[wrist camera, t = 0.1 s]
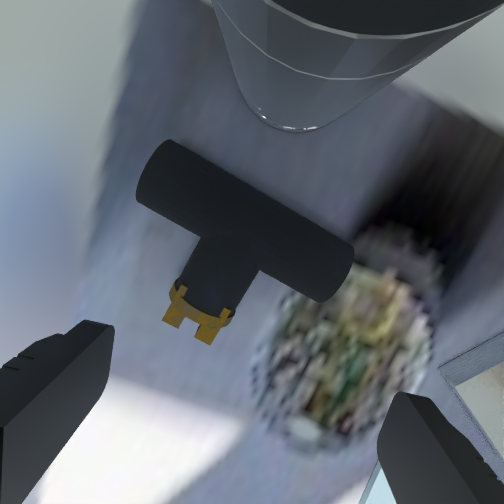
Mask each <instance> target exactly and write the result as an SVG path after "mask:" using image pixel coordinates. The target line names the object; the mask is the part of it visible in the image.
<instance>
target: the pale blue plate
mask: <svg viewBox="0 0 504 504" xmlns="http://www.w3.org/2000/svg"><path fill="white" fill-rule="evenodd" d="M497 479H498V480H500V479H499V478H498V477H497ZM501 482H502V481H501ZM359 504H396V501H395V499H394V496H393V494H392V491H391V489H390V487H389V484H388V482H387V479H386V477H385V475H384V472H383V470H382V467H381V465H380V462H379V460H378V462H377V464H376V467H375V469H374V471H373V473H372V476H371V478H370V480H369V482H368V485H367V487H366V489H365V491H364V493H363V496H362V498H361V500H360V502H359Z"/></svg>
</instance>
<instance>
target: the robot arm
mask: <svg viewBox="0 0 504 504" xmlns="http://www.w3.org/2000/svg"><path fill="white" fill-rule="evenodd" d="M211 1H212V4H213V7H214V11H215V14H216V17H217V20H218V23H219V26H220V29H221V32H222V36H223V39H224V42H225V45H226V48H227V51H228V54H229V58H230V61H231V64H232V67H233V70H234V74H235V77H236V80H237V83H238V86H239V88H240V91H241V93H242V96H243V98H244V99H245V101H246V103H247V104H248V106H249V107H250V109H251V110H252V111H253V112H254V113H255V114H256V115H257V116H258V117H259V118H260V119H261V120H263V121H264V122H266V123H267V124H269V125H270V126H272V127H275V128H278V129H281V130H283V131H290V132H305V131H312V130H315V129H318V128H321V127H324V126H325V125H327V124H329V123H330V122H332V121H334V120H336V119H337V118H339V117H340V116H341V115H343V114H345V113H346V112H348V111H349V110H351V109H352V108H354V107H355V106H357V105H358V104H360V103H361V102H363V101H364V100H365V99H367V98H368V97H370V96H371V95H373V94H374V93H376V92H377V91H379V90H380V89H382V88H383V87H385V86H386V85H387V84H389V83H390V82H392V81H393V80H395V79H396V78H398V77H399V76H401V75H402V74H404V73H405V72H406V71H408V70H409V69H411V68H412V67H414V66H415V65H417V64H418V63H420V62H421V61H423V60H424V59H426V58H427V57H428V56H430V55H431V54H433V53H434V52H436V51H437V50H438V49H440V48H441V47H443V46H444V45H445V44H447V43H448V42H450V41H451V40H453V39H454V38H456V37H457V36H458V35H460V34H461V33H463V32H464V31H466V30H467V29H469V28H470V27H472V26H473V25H475V24H476V23H478V22H479V21H481V20H482V19H484V18H485V17H486V16H488V15H490V14H491V13H492V12H494V11H495V10H497V9H498V8H500V7H501V6H503V5H504V0H211ZM114 334H115V330H114V327H113V326H112V325H108V324H103V323H99V322H94V321H90V320H83V321H81V322H80V323H79V324H77V325H76V326H75V327H74V328H72V329H71V330H70V331H69V332H67V333H66V334H65V335H63V334H58V333H57V334H54V335H52V336H49V337H47V338H44V339H42V340H39V341H36V342H34V343H33V344H32V345H30V346H29V347H28V348H26V349H25V350H24V351H22V352H21V353H19V354H18V356H17V357H14V358H12V359H11V360H10V361H8V362H7V363H5V364H4V365H3V366H2V368H1V369H0V504H22V502H23V501H24V500H25V498H26V497H27V496H28V494H29V493H30V492H31V490H32V489H33V487H34V486H35V485H36V483H37V482H38V481H39V479H40V478H41V477H42V475H43V474H44V473H45V471H46V470H47V469H48V467H49V466H50V465H51V463H52V462H53V461H54V459H55V458H56V456H57V455H58V454H59V452H60V451H61V450H62V448H63V447H64V446H65V444H66V443H67V442H68V440H69V439H70V438H71V436H72V435H73V433H74V432H75V431H76V429H77V428H78V427H79V425H80V424H81V423H82V421H83V420H84V419H85V417H86V416H87V415H88V413H89V412H90V411H91V409H92V408H93V406H94V405H95V404H96V402H97V401H98V400H99V398H100V397H101V395H102V393H103V391H104V389H105V386H106V383H107V380H108V377H109V371H110V363H111V356H112V349H113V342H114ZM377 454H378V459H379V462H380V465H381V467H382V470H383V472H384V475H385V477H386V479H387V482H388V484H389V487H390V489H391V491H392V494H393V496H394V499H395V501H396V504H504V484H503V483H502V482H501V480H498V479H497V475H496V474H495V473H494V471H493V470H492V469H491V468H490V466H489V465H488V464H487V463H485V462H484V461H483V460H484V459H483V457H482V456H481V455H480V454H479V452H478V451H477V450H476V449H475V447H474V446H473V445H472V444H471V442H470V441H469V440H468V439H467V438H466V437H465V436H464V435H463V434H461V433H460V432H459V431H458V430H457V429H456V428H455V427H454V426H452V425H451V424H450V423H449V422H448V421H447V419H446V418H445V417H444V416H443V414H442V413H441V412H440V410H439V409H438V408H437V406H436V405H435V404H434V402H433V401H432V400H431V399H429V398H427V397H423V396H419V395H414V394H410V393H405V392H398V393H397V394H396V395H395V396H394V398H393V400H392V403H391V405H390V408H389V410H388V413H387V415H386V418H385V420H384V423H383V425H382V428H381V430H380V433H379V436H378V440H377Z"/></svg>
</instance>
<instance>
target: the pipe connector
mask: <svg viewBox="0 0 504 504" xmlns="http://www.w3.org/2000/svg"><path fill="white" fill-rule="evenodd" d="M136 200H137V202H139V203H141V204H142V205H144V206H146V207H148V208H149V209H151V210H153V211H155V212H157V213H158V214H160V215H162V216H164V217H166V218H167V219H169V220H171V221H173V222H175V223H176V224H178V225H180V226H182V227H184V228H185V229H187V230H189V231H191V232H193V233H194V234H196V235H198V236H200V237H201V239H200V241H199V242H198V244H197V246H196V248H195V250H194V252H193V253H192V255H191V257H190V259H189V261H188V263H187V265H186V266H185V268H184V270H183V272H182V274H181V276H180V277H179V278H178V279H177V280H176V281H175V283H174V284H173V286H172V288H171V290H170V292H169V296H170V300H171V304H170V306H169V308H168V310H167V312H166V313H165V315H164V317H163V319H162V321H164V322H166V323H168V324H170V325H172V326H174V327H176V328H179V326H180V324H181V323H182V321H183V319H184V317H185V316H186V317H188V318H189V319H191V320H193V321H195V322H197V323H199V324H200V325H199V327H198V329H197V332H196V334H195V336H194V337H195V338H197V339H199V340H201V341H202V342H204V343H206V344H208V345H211V343H212V342H213V340H214V338H215V337H216V335H217V333H218V332H219V330H220V328H222V327H225V326H227V325H228V324H229V323H230V321H231V319H232V318H233V316H234V315H235V312H236V310H235V309H236V307H237V306H238V304H239V303H240V301H241V299H242V298H243V296H244V294H245V293H246V291H247V289H248V288H249V286H250V285H251V283H252V281H253V280H254V278H255V276H256V275H257V273H258V271H259V270H261V271H262V272H264V273H266V274H268V275H270V276H271V277H273V278H275V279H277V280H279V281H280V282H282V283H284V284H286V285H288V286H289V287H291V288H293V289H295V290H296V291H298V292H300V293H302V294H304V295H305V296H307V297H309V298H311V299H313V300H314V301H316V302H318V303H322V302H325V301H326V300H328V299H329V298H330V297H332V296H333V295H334V294H335V293H336V291H337V290H338V289H339V288H340V286H341V285H342V283H343V282H344V280H345V279H346V277H347V275H348V273H349V271H350V268H351V266H352V263H353V259H354V248H353V246H352V245H350V244H348V243H347V242H345V241H343V240H342V239H340V238H338V237H337V236H335V235H333V234H331V233H330V232H328V231H326V230H325V229H323V228H321V227H319V226H318V225H316V224H314V223H313V222H311V221H309V220H308V219H306V218H304V217H302V216H301V215H299V214H297V213H296V212H294V211H292V210H290V209H289V208H287V207H285V206H284V205H282V204H280V203H279V202H277V201H275V200H273V199H272V198H270V197H268V196H267V195H265V194H263V193H261V192H260V191H258V190H256V189H255V188H253V187H251V186H250V185H248V184H246V183H244V182H243V181H241V180H239V179H238V178H236V177H234V176H233V175H231V174H229V173H227V172H226V171H224V170H222V169H221V168H219V167H217V166H215V165H214V164H212V163H210V162H209V161H207V160H205V159H204V158H202V157H200V156H198V155H197V154H195V153H193V152H192V151H190V150H188V149H186V148H185V147H183V146H181V145H180V144H178V143H176V142H175V141H173V140H171V139H169V140H166V141H165V142H163V143H162V144H161V145H160V146H159V147H158V148H157V149H156V151H155V152H154V153H153V155H152V156H151V157H150V159H149V161H148V162H147V164H146V166H145V168H144V170H143V172H142V174H141V177H140V179H139V182H138V185H137V190H136Z"/></svg>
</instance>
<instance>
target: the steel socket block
mask: <svg viewBox="0 0 504 504" xmlns="http://www.w3.org/2000/svg"><path fill="white" fill-rule="evenodd" d="M438 369H439V370H440V372H441V373H442V374H443V376H444V377H445V379H446V380H447V382H448V383H449V385H450V386H451V388H452V389H453V391H454V392H455V393H456V395H457V396H458V398H459V399H460V401H461V402H462V404H463V405H464V407H465V408H466V410H467V411H468V412H469V414H470V415H471V417H472V418H473V420H474V421H475V423H476V424H477V426H478V427H479V429H480V430H481V431H482V433H483V434H484V436H485V437H486V439H487V440H488V442H489V443H490V445H491V446H492V448H493V449H494V450H495V452H496V453H497V455H498V456H499V457H500V459H501V460H502V461H503V462H504V332H503V333H501V334H500V335H498V336H496V337H494V338H492V339H490V340H488V341H487V342H485V343H483V344H481V345H479V346H477V347H476V348H474V349H472V350H470V351H468V352H466V353H465V354H463V355H461V356H459V357H457V358H455V359H454V360H452V361H450V362H448V363H446V364H444V365H442V366H441V367H439V368H438Z"/></svg>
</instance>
